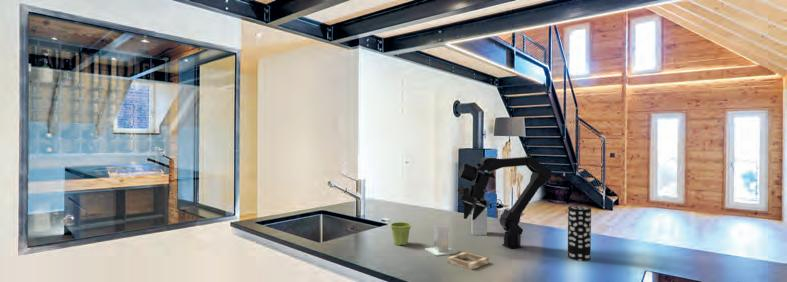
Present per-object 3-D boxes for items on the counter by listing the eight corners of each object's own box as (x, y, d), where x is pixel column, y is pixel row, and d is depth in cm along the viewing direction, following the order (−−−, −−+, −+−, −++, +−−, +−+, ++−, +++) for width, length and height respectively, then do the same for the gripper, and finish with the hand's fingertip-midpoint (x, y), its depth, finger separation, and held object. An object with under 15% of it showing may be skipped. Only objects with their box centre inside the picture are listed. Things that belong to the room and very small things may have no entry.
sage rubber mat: (445, 247, 173) (445, 245, 173) (457, 253, 164) (457, 252, 164) (424, 249, 169) (425, 248, 169) (436, 256, 160) (436, 254, 160)
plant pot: (403, 247, 171) (403, 227, 171) (385, 244, 177) (386, 224, 177) (415, 243, 179) (415, 224, 179) (398, 239, 184) (398, 221, 184)
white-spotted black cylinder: (588, 255, 162) (589, 206, 161) (591, 262, 154) (592, 210, 153) (566, 253, 164) (567, 205, 164) (568, 259, 156) (569, 209, 156)
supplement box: (486, 235, 193) (487, 209, 193) (471, 234, 195) (471, 209, 195) (486, 232, 201) (486, 207, 200) (471, 231, 202) (471, 206, 202)
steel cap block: (443, 248, 170) (444, 224, 169) (448, 251, 165) (448, 227, 165) (434, 248, 168) (434, 225, 168) (438, 252, 164) (438, 228, 163)
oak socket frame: (464, 256, 159) (464, 251, 159) (488, 263, 151) (488, 257, 151) (447, 262, 152) (447, 257, 152) (471, 269, 144) (471, 264, 144)
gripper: (472, 182, 185) (461, 213, 185) (455, 176, 170) (443, 211, 170) (494, 189, 179) (483, 222, 178) (478, 184, 164) (466, 220, 163)
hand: (469, 219), depth 173 cm, fingers open, 9 cm apart
